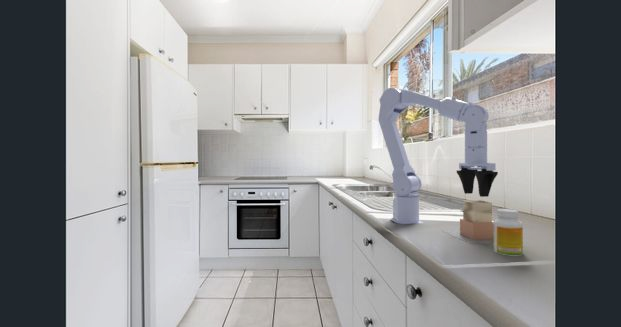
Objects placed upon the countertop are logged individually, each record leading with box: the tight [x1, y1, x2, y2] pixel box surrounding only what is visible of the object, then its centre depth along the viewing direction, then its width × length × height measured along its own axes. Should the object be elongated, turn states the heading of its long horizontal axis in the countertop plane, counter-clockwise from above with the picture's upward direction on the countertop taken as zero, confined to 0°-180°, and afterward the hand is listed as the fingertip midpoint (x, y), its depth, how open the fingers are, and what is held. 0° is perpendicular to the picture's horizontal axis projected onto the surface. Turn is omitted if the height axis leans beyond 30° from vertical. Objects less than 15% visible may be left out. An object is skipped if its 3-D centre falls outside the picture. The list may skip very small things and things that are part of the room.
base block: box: [459, 218, 494, 239], centre depth 83 cm, size 6×6×4 cm
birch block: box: [462, 199, 493, 223], centre depth 83 cm, size 5×5×5 cm
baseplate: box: [442, 229, 494, 245], centre depth 83 cm, size 14×12×1 cm
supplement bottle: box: [493, 208, 524, 257], centre depth 69 cm, size 5×5×10 cm
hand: (475, 194), depth 91 cm, fingers open, 7 cm apart
